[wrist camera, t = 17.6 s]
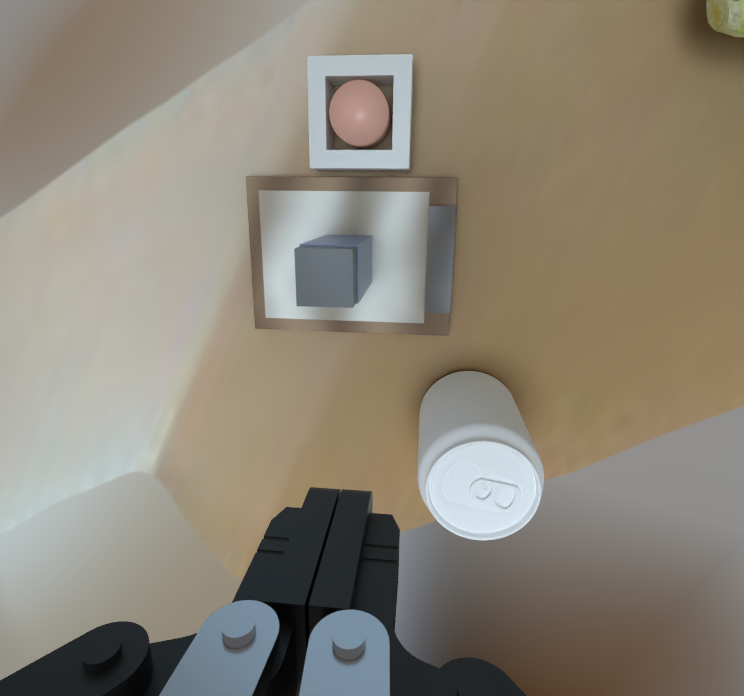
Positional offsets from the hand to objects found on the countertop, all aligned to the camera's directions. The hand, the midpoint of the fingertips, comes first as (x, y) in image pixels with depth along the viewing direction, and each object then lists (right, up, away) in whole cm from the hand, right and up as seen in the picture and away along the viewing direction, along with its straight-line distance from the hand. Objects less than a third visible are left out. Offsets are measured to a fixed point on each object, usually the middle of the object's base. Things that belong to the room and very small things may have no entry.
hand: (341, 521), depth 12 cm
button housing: (0, +21, +24) cm, 32 cm away
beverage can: (+9, -1, +30) cm, 31 cm away
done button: (0, +21, +24) cm, 32 cm away
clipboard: (-1, +11, +27) cm, 29 cm away
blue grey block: (-1, +11, +26) cm, 28 cm away
